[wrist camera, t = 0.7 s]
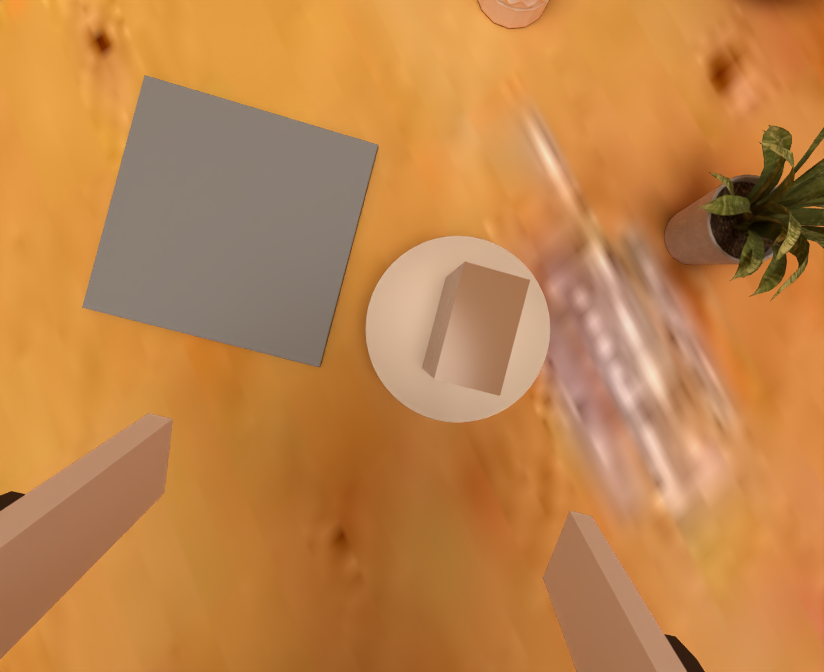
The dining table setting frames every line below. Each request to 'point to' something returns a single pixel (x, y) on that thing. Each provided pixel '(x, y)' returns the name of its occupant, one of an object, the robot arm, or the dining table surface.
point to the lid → (457, 329)
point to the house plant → (755, 217)
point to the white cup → (513, 11)
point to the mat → (230, 223)
